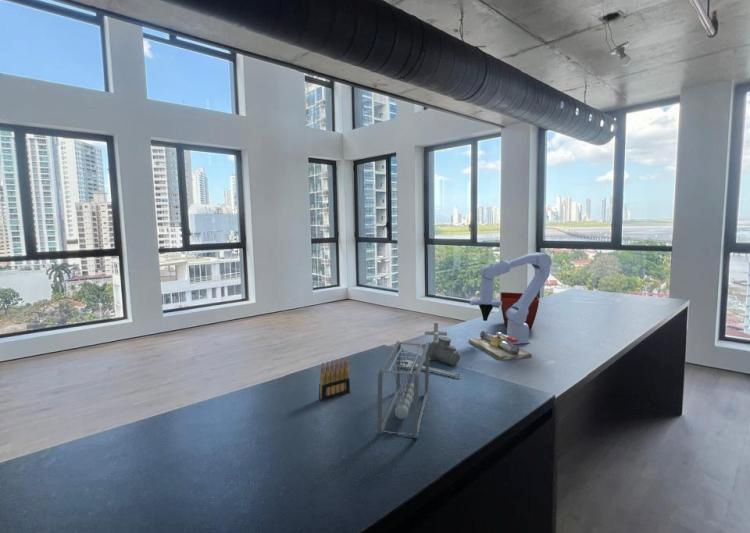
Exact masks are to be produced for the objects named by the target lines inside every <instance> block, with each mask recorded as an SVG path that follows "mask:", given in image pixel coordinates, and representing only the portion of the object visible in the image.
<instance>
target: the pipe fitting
mask: <svg viewBox="0 0 750 533" xmlns="http://www.w3.org/2000/svg"><path fill="white" fill-rule="evenodd" d="M451 343H452V338H449V337H448V336H444V335H439V336H438V340H435V341H434V340H433V341H432V342H430V344H429V360H432V361H437V360H439V361H441V362H443V363H445V364H447V365H449V366H451V367H455V366H456V365H458V363H459V362H460V358H461V354H460V353H459V351H457V349H456V347H455V346H453V345H451Z"/></svg>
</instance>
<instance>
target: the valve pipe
mask: <svg viewBox="0 0 750 533" xmlns="http://www.w3.org/2000/svg"><path fill="white" fill-rule="evenodd" d="M479 338H482V339H486V340H488V341H489V342H491V345H493V346H495V347H497V348H503V349H505V350H506V351H508V352H510V353H511V354H512V355H516V354H518V353H519V348H520V347H519V346H517V345H515V346H512V345H510V344H508V343H507V339H506V338H504V337H502V336H499V335H496V334H495V335H494V334H493V335H492V334H490V333H488V331H486V330H482V331H481V332H480V333H479ZM518 347H519V348H518Z"/></svg>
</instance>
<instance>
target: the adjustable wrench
mask: <svg viewBox="0 0 750 533" xmlns="http://www.w3.org/2000/svg"><path fill="white" fill-rule="evenodd" d="M403 361H404V359H402V360H401V359H400V368H401V367H402V368H401V369H403V368H406V369H408V370H411V367H412V364H413V362H414V360H410V359H409V360H408V359H405V361H407V362H403ZM402 363H403V366H402ZM405 364H406V366H408V367H404V366H405ZM418 364H419V363H417V362H416V364H415V365H414V366H415V369H414V370H417V367H418ZM406 369H405V370H406ZM422 370H425V365H423V366H422V369H421V371H422ZM429 371H431V372H436V373H441V374H445V375H449V376H452V377H457V378H459V377H461V378H462V374H461V373H458V372H454V371H449V370H444V369H440V368H437V367H436V368H435V367H431V366H429ZM457 375H458V376H457ZM452 377H451V378H452Z"/></svg>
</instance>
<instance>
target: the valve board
mask: <svg viewBox="0 0 750 533" xmlns="http://www.w3.org/2000/svg"><path fill="white" fill-rule="evenodd" d="M468 343H470V344H471V345H473V346H475V347H477V348H479V349H481V351H484V352H485V353H487V354H489V355H491V356H492V357H494V358H495V359H498V360H499V361H503V360H515V359H526V358H532V353H531V352H529V351H527V350H525V349H523V348H521V347H519V346H517V347H518V348H519V353H518V354H516V355H512V354H511V353H510V352H508V351H506V350H505V349H503V348H497V347H495V346H493V345H491V342H489V341H488V340H486V339H482V338H481V337H476V338H468ZM507 343H508V344H510V345H512V346H516V344H511V343H509V342H507Z"/></svg>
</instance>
